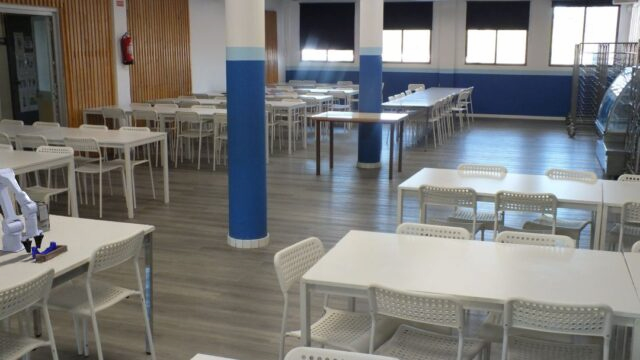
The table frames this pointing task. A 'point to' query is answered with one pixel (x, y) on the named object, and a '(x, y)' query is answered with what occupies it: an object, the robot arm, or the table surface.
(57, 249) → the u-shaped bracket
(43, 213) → the coffee box
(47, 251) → the blue notched arch
